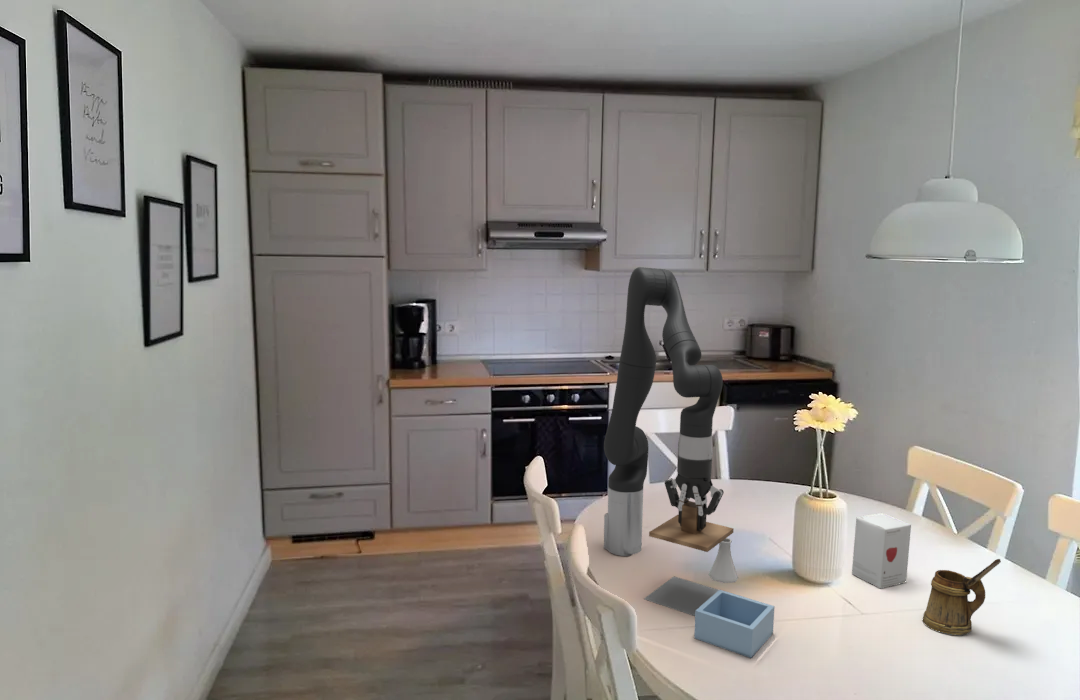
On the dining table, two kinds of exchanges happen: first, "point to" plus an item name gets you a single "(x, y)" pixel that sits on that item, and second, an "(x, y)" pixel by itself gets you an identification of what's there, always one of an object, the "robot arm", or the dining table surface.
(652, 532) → the walnut lid
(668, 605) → the rubber mat
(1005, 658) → the dining table surface
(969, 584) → the wooden mug
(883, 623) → the dining table surface
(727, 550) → the flask
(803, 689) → the dining table surface
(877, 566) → the supplement box
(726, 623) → the blue storage bin
